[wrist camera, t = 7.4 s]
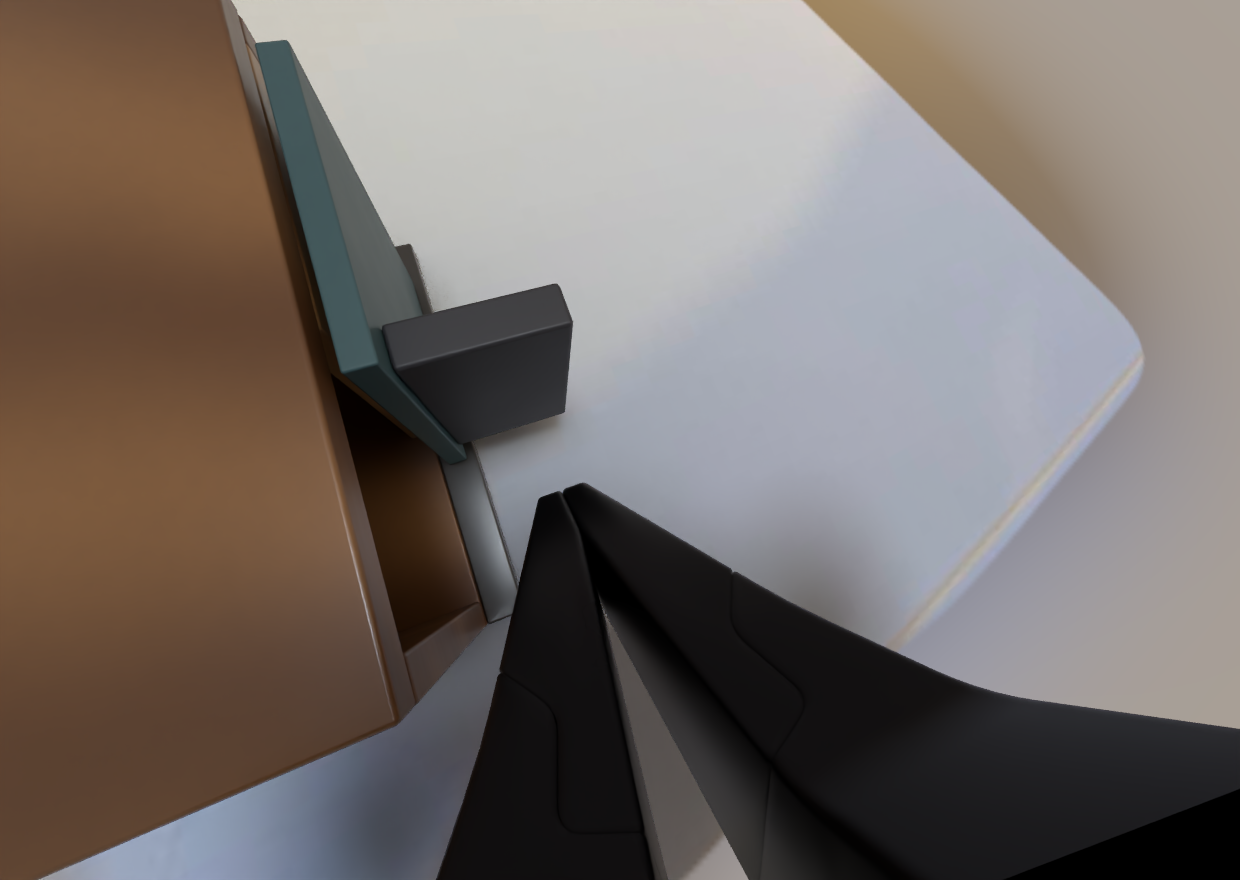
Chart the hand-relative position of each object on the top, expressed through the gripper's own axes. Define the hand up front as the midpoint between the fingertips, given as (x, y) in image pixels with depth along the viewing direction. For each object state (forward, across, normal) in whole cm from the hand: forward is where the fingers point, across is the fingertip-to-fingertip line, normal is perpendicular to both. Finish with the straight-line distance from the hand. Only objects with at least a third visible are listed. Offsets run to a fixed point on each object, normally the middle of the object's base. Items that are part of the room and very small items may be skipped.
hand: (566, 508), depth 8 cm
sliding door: (+10, +1, 0) cm, 10 cm away
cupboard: (+9, +7, +2) cm, 12 cm away
